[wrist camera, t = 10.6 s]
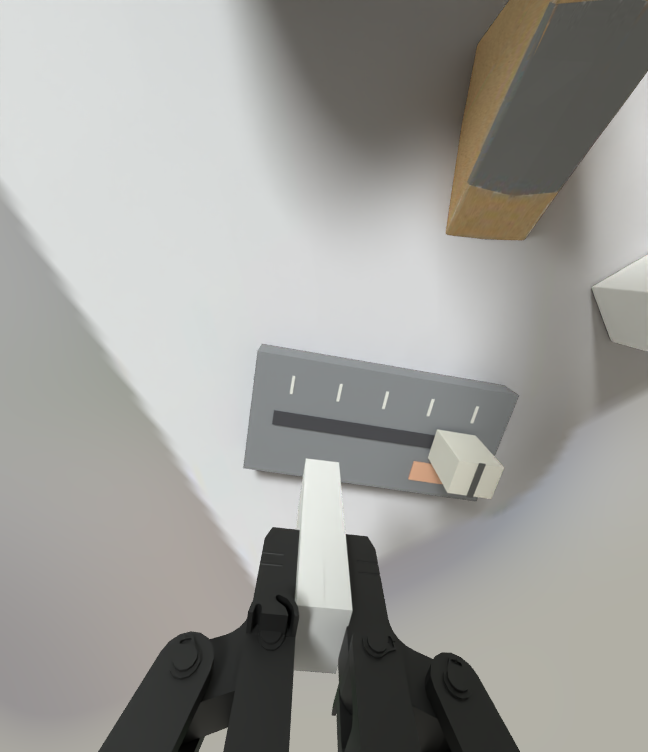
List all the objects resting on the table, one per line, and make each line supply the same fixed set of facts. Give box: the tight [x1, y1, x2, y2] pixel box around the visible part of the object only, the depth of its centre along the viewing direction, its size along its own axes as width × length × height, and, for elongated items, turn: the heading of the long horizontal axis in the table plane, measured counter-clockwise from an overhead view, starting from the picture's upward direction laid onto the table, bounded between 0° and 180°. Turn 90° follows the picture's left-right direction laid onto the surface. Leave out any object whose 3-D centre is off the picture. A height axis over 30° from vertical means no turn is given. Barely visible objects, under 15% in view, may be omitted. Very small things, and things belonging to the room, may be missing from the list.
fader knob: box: [428, 429, 504, 499], centre depth 34 cm, size 4×4×6 cm
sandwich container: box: [446, 0, 648, 240], centre depth 24 cm, size 9×15×15 cm, turn 176°
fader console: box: [243, 344, 519, 501], centre depth 38 cm, size 14×28×3 cm, turn 80°
